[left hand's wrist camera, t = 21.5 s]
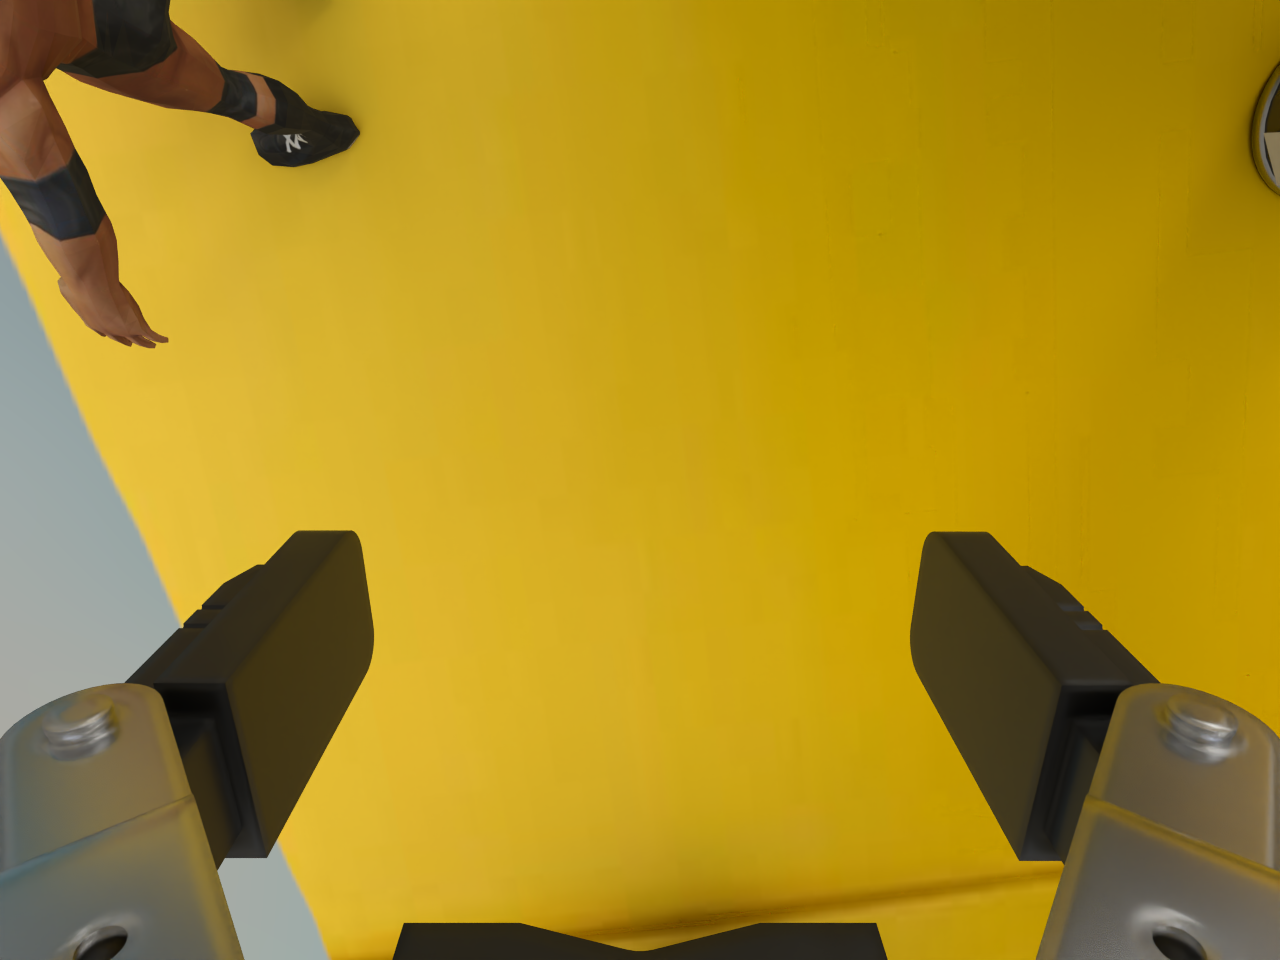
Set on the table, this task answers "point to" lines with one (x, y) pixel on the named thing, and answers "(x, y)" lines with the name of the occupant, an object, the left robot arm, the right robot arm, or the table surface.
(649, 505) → the table surface
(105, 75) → the figurine
